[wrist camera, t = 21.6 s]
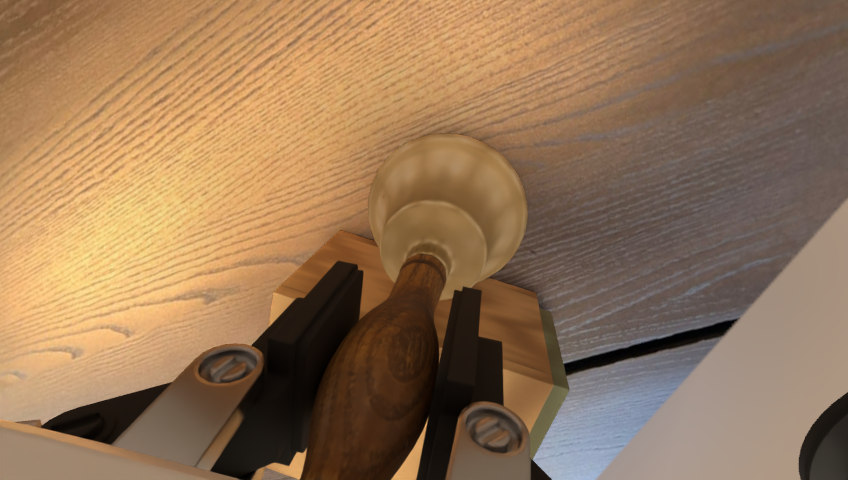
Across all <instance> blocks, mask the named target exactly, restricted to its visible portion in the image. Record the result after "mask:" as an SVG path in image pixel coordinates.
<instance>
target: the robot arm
mask: <svg viewBox="0 0 848 480" xmlns="http://www.w3.org/2000/svg"><path fill="white" fill-rule="evenodd" d="M363 276H364V273H363V270H358V265H357V264H353V263H348V262H343V261H339V260H338V261H337V262H336V263H335V264H334V265H333V266H332V267H331V268H330V270H329V271H328V272H327V273H326V274H325V275H324V276H323V277H322V278H321V280H320V281H319V282H318V283H317V284H316V285H315V286H314V287H313V288H312V289H311V291H310V292H309V293H308V294H307V295H306V296H305V297H304V298H302V297H298V298H296V299H295V300H294V301H293V302H292V303H291V304H290V305H289V306H288V307H287V308H286V309H285V310H284V312H283V313H282V314H281V315H280V316H279V317H278V318H277V319H276V320H275V321H274V322H273V323H272V324H271V325H270V326H269V327H268V329H267V330H266V331H265V332H264V333H263V334H262V335H261V336H260V337H259V338H258V339H257V340H256V341H255V342H254V343H253V344H252V346H249V345H246V344H236V343H235V344H225V345H221V346H217V347H214V348H212V349H209V350H207V351H205V352H203V353H202V354H201V355H200V356H198V357H197V358H196V359H195V360H194V361H193V362H192V363H191V364H190V365H189V366H188V367H187V368H186V369H185V370H184V371H183V372H182V373H181V374H180V375H179V376H178V377H177V378H176V379H175V380H174V381H173V382H171V383H167V384H164V385H160V386H156V387H152V388H149V389H145V390H141V391H138V392H134V393H130V394H126V395H123V396H119V397H115V398H112V399H108V400H104V401H100V402H97V403H93V404H89V405H86V406H82V407H78V408H76V409H73V410H70V411H67V412H64V413H62V414H60V415H58V416H56V417H55V418H53V419H51V420H49V421H48V422H46V423H45V424H44V425H41V421H40V420H31V421H21V422H10V421H5V420H0V480H261V479H262V477H263V474H264V471H265V466H267V465H270V464H272V463H278V464H282V465H286V466H290V464H291V462H292V460H293V458H294V456H295V455H296V453H297V452H299V453H304V452H305V450H306V448H307V445H308V434H309V425H310V419H311V414H312V409H313V405H314V400H315V397H316V393H317V390H318V386H319V383H320V381H321V379H322V376H323V374H324V372H325V369H326V367H327V365H328V363H329V361H330V360H331V358H332V356H333V355H334V353H335V352H336V350H337V348H338V347H339V345H340V343H341V342H342V341H343V339H344V338H345V337H346V336H347V334H348V333H349V332H350V330H351V329H352V328H353V327H354V325H355V324H356V323H357V322H358V321H359V316H360V306H361V296H362V286H363ZM481 295H482V290H478V289H474V288H469V287H464V286H463V288H462V291H459V290H454V294H453V299H452V304H451V309H450V314H449V318H448V323H447V328H446V333H445V338H444V342H443V347H442V352H441V357H440V362H439V366H438V371H437V376H436V381H435V386H434V391H433V396H432V402H431V407H430V412H429V417H428V422H427V427H426V432H425V437H424V443H423V448H422V453H421V458H420V463H419V468H418V473H417V478H416V480H552V479H551V478H550V477H549V476H548V475H547V474H546V473H545V472H544V471H543V470H542V469H541V468H540V467H539V466H538V465H537V464H536V463H535V462H534V461H533V460H532V459H531V458H530V436H529V431H528V429H527V427H526V425H525V423H524V422H523V420H522V419H521V418H520V417H519V416H518V415H517V414H516V413H514V412H513V411H511V410H510V409H508V408H507V407H505V406H504V393H503V346H502V341H498V340H493V339H489V338H484V337H480V336H479V322H480V308H481Z"/></svg>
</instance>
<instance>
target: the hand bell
mask: <svg viewBox="0 0 848 480" xmlns="http://www.w3.org/2000/svg"><path fill="white" fill-rule="evenodd" d="M368 218H369V224H370V228H371V232H372V234H373V237H374V239H375V241H376V243H377V245H378V247H379V248H380V256H381V260H382V264H383V266H384V269H385V270H386V272H387V274H388V275H389V277H390V278H391V280H392V281H393V282H394V283H395V284H394V286H393V288H392V291H391V293H390V295H389V297H388V298H387V299H386V300H385V301H384V302H383V303H381V304H379V305H378V306H376V307H375V308H373V309H372V310H370V311H369V312H368V313H367V314H366V315H365V316H363V317H362V318H361V319H360V320H359V321H358V322H357V323H356V324H355V325H354V327H353V328H352V329H351V330H350V332H349V333H348V334H347V336H346V337H345V338H344V339H343V341H342V342H341V343H340V345H339V347H338V348H337V350H336V352H335V353H334V355H333V356H332V358H331V360H330V361H329V363H328V365H327V367H326V369H325V372H324V374H323V376H322V379H321V381H320V383H319V386H318V390H317V393H316V397H315V400H314V405H313V409H312V414H311V419H310V425H309V434H308V445H307V451H306V457H305V462H304V466H303V471H302V474H301V478H300V480H391V479H392V478H393V476H394V475H395V474H396V472H397V471H398V470H399V468H400V467H401V466H402V464H403V463H404V461H405V460H406V458H407V457H408V455H409V454H410V452H411V451H412V450H413V448H414V446H415V444H416V443H417V441H418V439H419V437H420V435H421V433H422V431H423V429H424V427H425V424H426V422H427V419H428V417H429V412H430V407H431V402H432V396H433V391H434V386H435V381H436V376H437V371H438V366H439V342H438V336H437V331H436V328H435V324H434V313H435V310H436V307H437V305H438V302H439V300H447V299H451V298H453V294H454V290H459V291H462V288H463V286H464V287H469V288H471V287H472V286H473V285H474V284H475V283H477V282H480V281H482V280H484V279H486V278H488V277H490V276H492V275H493V274H495V273H496V272H498V271H499V270H500V269H501V268H503V267H504V266H505V265H506V264H507V263H508V262H509V260H510V259H511V258H512V257H513V256H514V254H515V253H516V251H517V250H518V248H519V246H520V244H521V242H522V239H523V237H524V234H525V230H526V225H527V220H528V207H527V200H526V195H525V191H524V188H523V185H522V183H521V180H520V178H519V176H518V175H517V173H516V171H515V170H514V168H513V167H512V166H511V164H510V163H509V162H508V161H507V160H506V158H505V157H503V156H502V155H501V154H500V153H499V152H497V151H496V150H495V149H494V148H492V147H490V146H489V145H487V144H485V143H483V142H481V141H479V140H477V139H474V138H471V137H468V136H464V135H459V134H452V133H440V134H432V135H427V136H423V137H420V138H417V139H414V140H412V141H410V142H408V143H406V144H404V145H403V146H401V147H400V148H398V149H397V150H396V151H395V152H393V153H392V154H391V155H390V156H389V157H388V158H387V159H386V160H385V161H384V163H383V164H382V165H381V167H380V168H379V170H378V172H377V174H376V176H375V178H374V180H373V182H372V185H371V188H370V192H369V197H368Z"/></svg>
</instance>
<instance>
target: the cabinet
mask: <svg viewBox="0 0 848 480" xmlns="http://www.w3.org/2000/svg"><path fill="white" fill-rule="evenodd" d="M338 260H339V261H343V262H348V263H353V264H357V265H358V270H363V273H364V276H363V286H362V296H361V306H360V316H359V320H360V319H361V318H362V317H363V316H365V315H366V314H367V313H368V312H369V311H370V310H372V309H373V308H375V307H376V306H378V305H379V304H381V303H383V302H384V301H385V300H386V299H387V298H388V297H389V295H390V293H391V291H392V288H393V286H394V284H395V283H394V282H393V281H392V280H391V278H390V277H389V275H388V274H387V272H386V270H385V269H384V266H383V264H382V260H381V256H380V248H379V247H378V245H377V243H376V241H373V240H370V239H367V238H364V237H361V236H358V235H354V234H351V233H348V232H345V231H342V230H340V231H339V232H338V233H337V234H336V235H334V236H333V237H332V238H331V239H330V240H329V241H328V242H327V243H326V244H325V245H324V246H323V247H321V248H320V249H319V250H318V251H317V252H316V253H315V254H314V255H313V256H312V257H311V258H310V259H308V260H307V261H306V262H305V263H304V264H303V265H302V266H301V267H300V268H299V269H298V270H297V271H295V272H294V273H293V274H292V275H291V276H290V277H289V278H288V279H287V280H286V281H285V282H284V283H282V284H281V286H279V287H278V288H277V289H276V290H275V291H274V292H273V298H272V305H271V312H270V319H269V326H270V325H271V324H272V323H273V322H274V321H275V320H276V319H277V318H278V317H279V316H280V315H281V314H282V313H283V312H284V310H285V309H286V308H287V307H288V306H289V305H290V304H291V303H292V302H293V301H294V300H295V299H296V298H298V297H302V298H304V297H305V296H306V295H307V294H308V293H309V292H310V291H311V289H312V288H313V287H314V286H315V285H316V284H317V283H318V282H319V281H320V280H321V278H322V277H323V276H324V275H325V274H326V273H327V272H328V271H329V270H330V268H331V267H332V266H333V265H334V264H335V263H336V262H337V261H338ZM471 288H474V289H478V290H482V295H481V308H480V322H479V336H480V337H484V338H489V339H493V340H498V341H502V346H503V393H504V406H505V407H507V408H508V409H510V410H511V411H513V412H514V413H516V414H517V415H518V416H519V417H520V418H521V419H522V420H523V422H524V423H525V425H526V427H527V429H528V431H529V433H530V431H531V429H532V427H533V425H534V423H535V421H536V419H537V417H538V415H539V413H540V411H541V409H542V407H543V405H544V403H545V402H546V400H547V398H548V396H549V394H550V392H551V390H552V388H553V386H554V385H553V379H552V374H551V368H550V363H549V358H548V353H547V347H546V342H545V337H544V332H543V326H542V321H541V316H540V311H539V305H538V300H537V295H536V293H535V292H532V291H529V290H526V289H522V288H519V287H516V286H513V285H510V284H507V283H504V282H501V281H498V280H494V279H491V278H486V279H484V280H482V281H480V282H477V283H475V284H474V285H473V286H472V287H471ZM452 299H453V298H451V299H447V300H439V302H438V305H437V307H436V310H435V313H434V324H435V328H436V331H437V336H438V342H439V362H440V357H441V352H442V347H443V342H444V338H445V333H446V328H447V323H448V318H449V314H450V309H451V304H452ZM269 326H268V327H269ZM427 422H428V419H427ZM427 422H426V424H425V427H424V429H423V431H422V433H421V435H420V437H419V439H418V441H417V443H416V444H415V446H414V448H413V450H412V451H411V452H410V454H409V455H408V457H407V458H406V460H405V461H404V463H403V464H402V466H401V467H400V468H399V470H398V471H397V472H396V474H395V475H394V476H393V478H392V479H391V480H416V478H417V473H418V468H419V463H420V458H421V453H422V448H423V443H424V437H425V432H426V427H427ZM306 451H307V448H306V450H305V452H304V453H299V452H297V453H296V455H295V456H294V458H293V460H292V462H291V464H290V466H286V465H282V464H278V463H272V464H270V465H267V466H265V467H266V468H269V469H272V470H274V471H277V472H280V473H283V474H285V475H288V476H291V477H294V478H297V479H299V480H300V478H301V474H302V471H303V466H304V462H305V457H306Z"/></svg>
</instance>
